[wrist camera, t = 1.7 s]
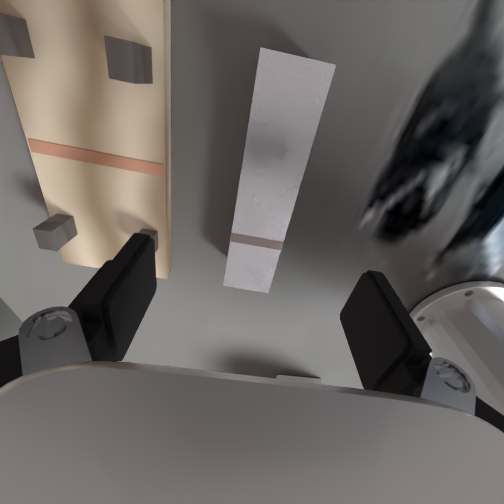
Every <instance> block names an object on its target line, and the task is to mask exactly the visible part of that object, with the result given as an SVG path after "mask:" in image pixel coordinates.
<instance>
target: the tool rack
mask: <svg viewBox="0 0 504 504" xmlns="http://www.w3.org/2000/svg"><path fill="white" fill-rule="evenodd" d="M0 55H1V57H2V61H3V64H4V67H5V71H6V74H7V77H8V81H9V84H10V87H11V91H12V94H13V97H14V100H15V104H16V107H17V110H18V114H19V117H20V120H21V124H22V127H23V130H24V133H25V137H26V140H27V143H28V147H29V150H30V153H31V157H32V160H33V163H34V167H35V170H36V173H37V176H38V180H39V183H40V186H41V190H42V193H43V196H44V200H45V203H46V206H47V210H48V213H49V216H50V218H49V219H47V220H46V221H44V222H43V223H41V224H39V225H38V226H36V227H35V228H33V231H34V234H35V237H36V240H37V242H38V245H39V248H41V249H47V250H53V251H58V250H59V249H60V252H61V256H62V259H63V262H65V263H71V264H77V265H83V266H89V267H95V268H101V267H102V265H103V264H104V263H105V262H106V261H107V260H113V258H114V257H115V256H116V255H117V253H118V252H119V251H120V250H121V248H122V247H123V246H124V245H125V243H126V242H127V241H128V240H129V238H130V237H131V236H132V235H133V234H134V233H142V234H148V235H150V238H152V239H154V242H155V262H156V277H157V278H163V279H167V278H168V276H169V274H170V272H171V0H0Z"/></svg>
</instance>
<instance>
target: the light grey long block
mask: <svg viewBox="0 0 504 504" xmlns="http://www.w3.org/2000/svg"><path fill="white" fill-rule="evenodd" d="M335 67H336V65H335V64H331V63H327V62H322V61H318V60H314V59H309V58H305V57H301V56H296V55H292V54H288V53H283V52H279V51H275V50H270V49H266V48H261V47H260V54H259V60H258V66H257V73H256V79H255V85H254V92H253V98H252V105H251V111H250V117H249V124H248V130H247V137H246V143H245V149H244V156H243V162H242V169H241V175H240V181H239V188H238V194H237V201H236V207H235V213H234V220H233V225H232V230H231V235H230V245H229V252H228V258H227V265H226V271H225V277H224V284H223V286H227V287H233V288H239V289H245V290H252V291H258V292H264V293H269V289H270V286H271V282H272V279H273V276H274V272H275V269H276V266H277V262H278V259H279V256H280V252H281V250H282V248H283V245H284V239H285V235H286V232H287V229H288V225H289V222H290V219H291V215H292V212H293V208H294V205H295V202H296V198H297V195H298V192H299V188H300V185H301V182H302V178H303V175H304V171H305V168H306V165H307V161H308V158H309V155H310V151H311V148H312V145H313V141H314V138H315V134H316V131H317V128H318V124H319V121H320V118H321V114H322V111H323V108H324V104H325V101H326V98H327V94H328V91H329V87H330V84H331V81H332V77H333V74H334V71H335Z"/></svg>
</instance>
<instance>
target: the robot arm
mask: <svg viewBox="0 0 504 504" xmlns="http://www.w3.org/2000/svg"><path fill="white" fill-rule="evenodd" d="M156 287H157V283H156V262H155V242H154V239H152V238H150V235H148V234H142V233H134V234H133V235H132V236H131V237H130V238H129V240H128V241H127V242H126V243H125V245H124V246H123V247H122V248H121V250H120V251H119V252H118V253H117V255H116V256H115V257H114V258H113V260H107V261H106V262H105V263H104V264H103V265H102V267H101V268H100V269H99V270H98V271H97V273H96V274H95V275H94V276H93V277H92V279H91V280H90V281H89V282H88V283H87V285H86V286H85V287H84V288H83V289H82V291H81V292H80V293H79V294H78V295H77V297H76V298H75V299H74V300H73V301H72V303H71V304H70V305H69V306H68V307H63V306H62V307H51V308H46V309H44V310H41V311H39V312H37V313H35V314H33V315H32V316H30V317H29V318H28V319H26V320H25V321H24V322H23V323H22V325H21V327H20V328H19V333H18V335H16V336H14V337H11V338H9V339H6V340H3V341H1V342H0V504H504V284H502V283H499V282H493V281H474V282H466V283H462V284H457V285H454V286H451V287H448V288H445V289H442V290H440V291H438V292H436V293H434V294H432V295H431V296H429V297H428V298H426V299H424V300H423V301H422V302H421V303H420V304H418V305H417V306H416V307H415V308H414V309H413V311H412V312H411V313H410V314H409V313H408V311H407V310H406V308H405V307H404V305H403V304H402V302H401V300H400V299H399V297H398V296H397V294H396V293H395V291H394V289H393V288H392V286H391V285H390V283H389V282H388V280H387V278H386V277H385V275H384V274H383V273H382V272H377V271H371V270H369V271H367V272H366V273H363V274H362V275H361V277H360V279H359V281H358V282H357V284H356V286H355V288H354V290H353V291H352V293H351V295H350V297H349V298H348V300H347V302H346V304H345V306H344V307H343V309H342V311H341V313H340V320H341V323H342V326H343V329H344V332H345V335H346V338H347V341H348V344H349V347H350V350H351V353H352V356H353V359H354V362H355V365H356V368H357V371H358V374H359V377H360V380H361V382H362V385H363V388H364V389H365V390H364V389H356V388H348V387H340V386H332V385H324V384H316V383H308V382H300V381H292V380H283V379H275V378H267V377H258V376H250V375H241V374H233V373H224V372H215V371H207V370H198V369H189V368H180V367H171V366H161V365H151V364H141V363H130V362H117V361H122V360H123V358H124V356H125V354H126V352H127V350H128V348H129V346H130V344H131V342H132V340H133V337H134V335H135V333H136V331H137V329H138V327H139V325H140V323H141V321H142V319H143V317H144V315H145V313H146V311H147V308H148V306H149V304H150V302H151V300H152V298H153V296H154V294H155V291H156ZM430 355H433V357H434V358H432V357H431V356H430Z"/></svg>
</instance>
